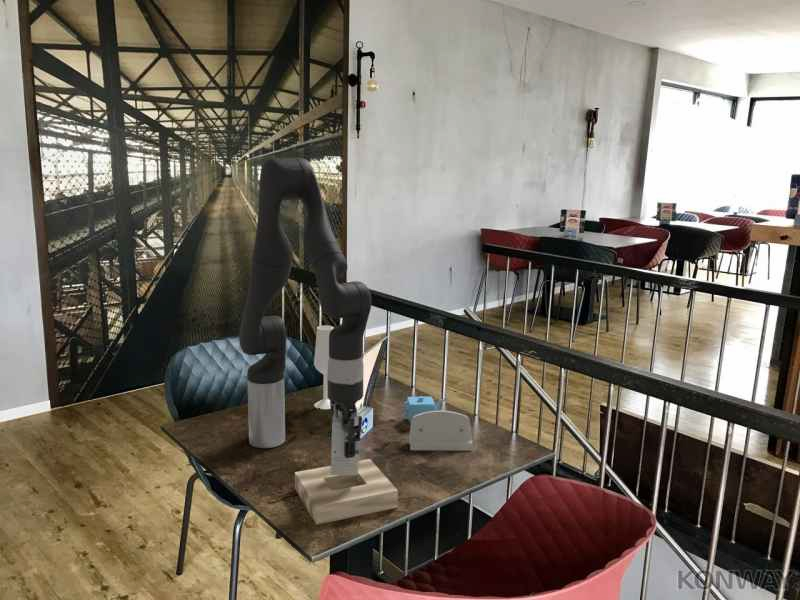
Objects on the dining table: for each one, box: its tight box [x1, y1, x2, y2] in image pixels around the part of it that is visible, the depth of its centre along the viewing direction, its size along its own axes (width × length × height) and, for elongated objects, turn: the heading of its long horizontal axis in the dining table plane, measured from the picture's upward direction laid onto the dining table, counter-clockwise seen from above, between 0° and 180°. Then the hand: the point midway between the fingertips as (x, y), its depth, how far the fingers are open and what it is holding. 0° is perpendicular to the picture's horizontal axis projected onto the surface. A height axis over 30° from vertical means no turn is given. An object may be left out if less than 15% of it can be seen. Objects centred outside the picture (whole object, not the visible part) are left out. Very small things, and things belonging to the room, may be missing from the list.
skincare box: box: [330, 415, 360, 475], centre depth 141 cm, size 6×4×12 cm
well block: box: [294, 458, 399, 526], centre depth 143 cm, size 16×18×4 cm
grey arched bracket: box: [407, 409, 474, 452], centre depth 171 cm, size 17×5×10 cm, turn 92°
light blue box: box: [402, 395, 446, 424], centre depth 185 cm, size 12×6×8 cm, turn 96°
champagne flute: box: [313, 325, 335, 410], centre depth 194 cm, size 7×7×24 cm
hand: (345, 450), depth 141 cm, fingers closed on skincare box, 5 cm apart
